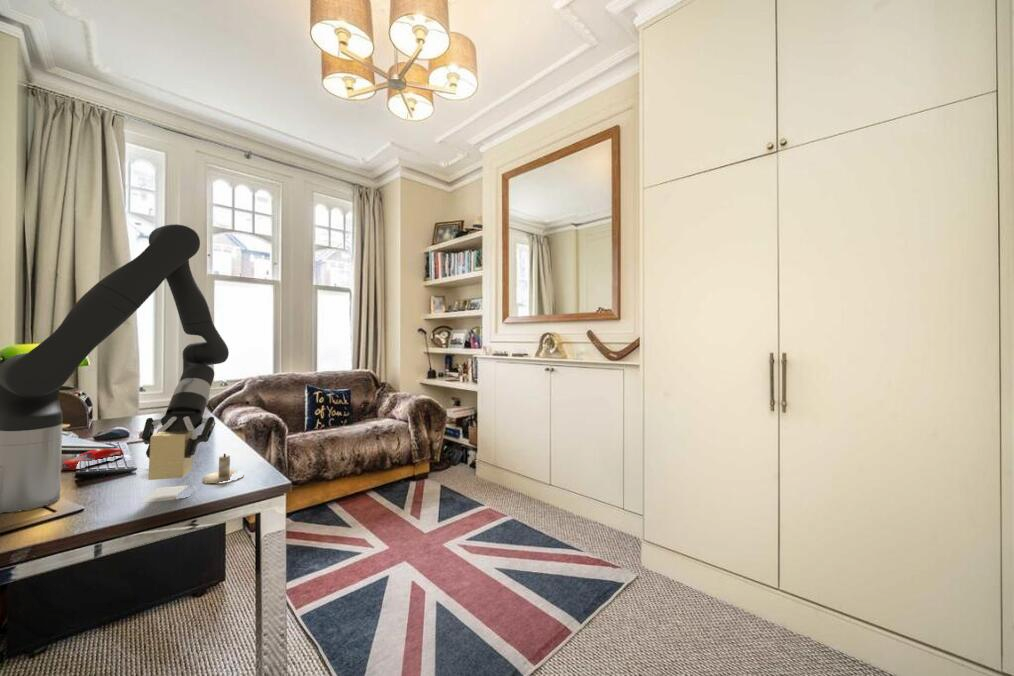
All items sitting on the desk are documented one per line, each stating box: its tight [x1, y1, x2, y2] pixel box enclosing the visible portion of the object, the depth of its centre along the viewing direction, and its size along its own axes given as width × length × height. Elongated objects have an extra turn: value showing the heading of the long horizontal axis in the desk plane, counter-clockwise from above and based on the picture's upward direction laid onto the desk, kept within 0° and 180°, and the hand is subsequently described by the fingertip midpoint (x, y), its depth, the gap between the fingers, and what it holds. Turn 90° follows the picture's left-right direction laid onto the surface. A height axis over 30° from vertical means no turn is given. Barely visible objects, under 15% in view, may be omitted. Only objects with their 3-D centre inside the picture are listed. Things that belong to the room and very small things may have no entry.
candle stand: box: [202, 453, 240, 484], centre depth 106 cm, size 9×9×7 cm
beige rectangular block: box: [147, 430, 194, 481], centre depth 95 cm, size 6×6×10 cm
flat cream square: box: [139, 485, 188, 504], centre depth 95 cm, size 9×9×1 cm
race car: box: [61, 447, 124, 471], centre depth 114 cm, size 13×5×4 cm, turn 167°
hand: (169, 457), depth 94 cm, fingers closed on beige rectangular block, 6 cm apart
